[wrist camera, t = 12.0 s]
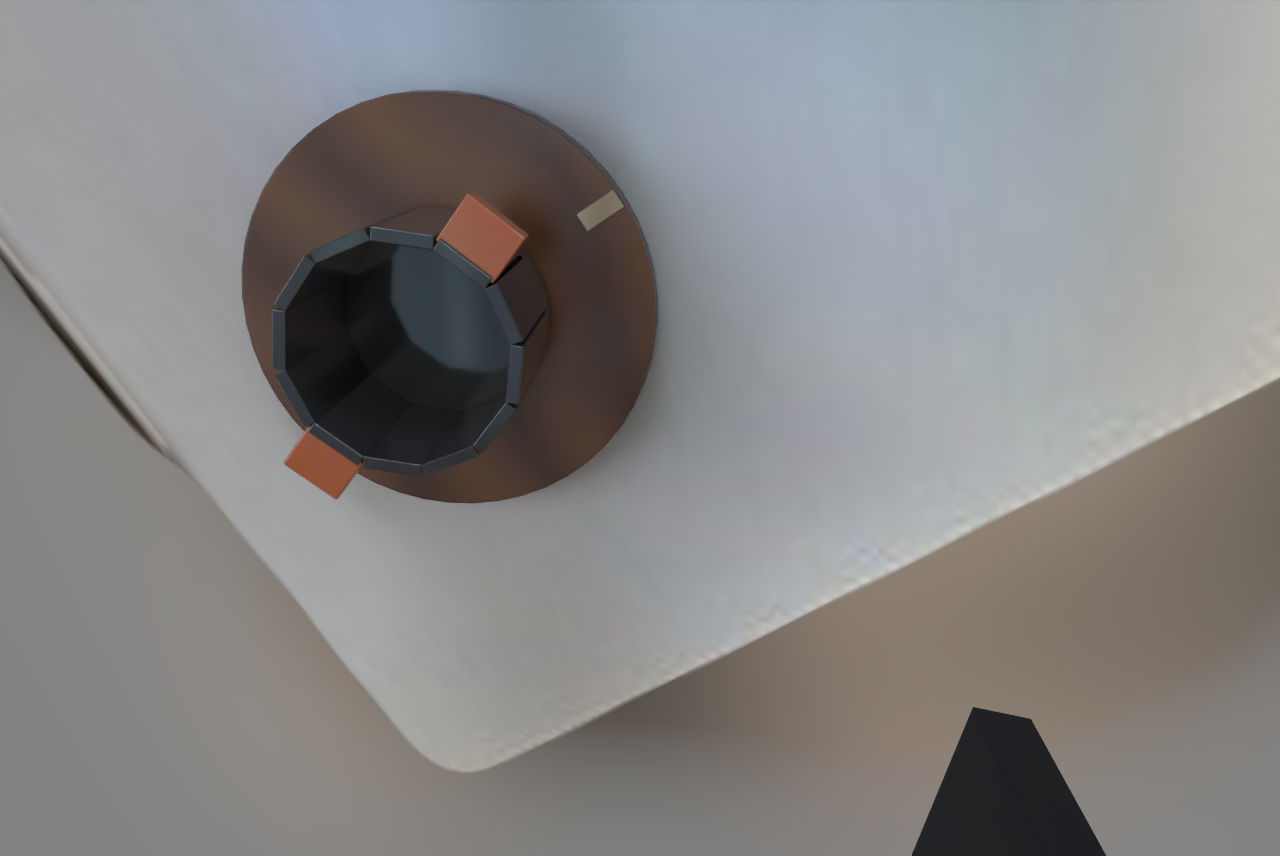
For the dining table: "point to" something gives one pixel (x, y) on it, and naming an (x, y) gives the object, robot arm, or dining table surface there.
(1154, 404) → the dining table surface
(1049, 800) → the robot arm
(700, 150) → the dining table surface
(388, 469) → the cooking pot
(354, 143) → the turntable
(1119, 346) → the dining table surface
